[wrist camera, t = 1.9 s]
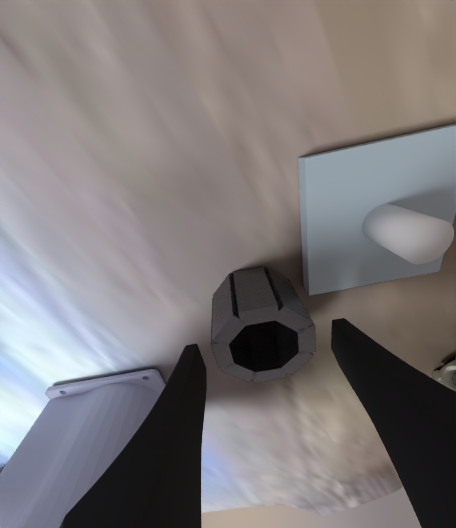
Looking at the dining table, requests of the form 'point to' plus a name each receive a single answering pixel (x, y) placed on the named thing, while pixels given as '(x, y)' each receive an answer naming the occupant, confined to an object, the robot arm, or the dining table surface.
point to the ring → (260, 326)
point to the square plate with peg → (377, 210)
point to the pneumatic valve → (447, 375)
